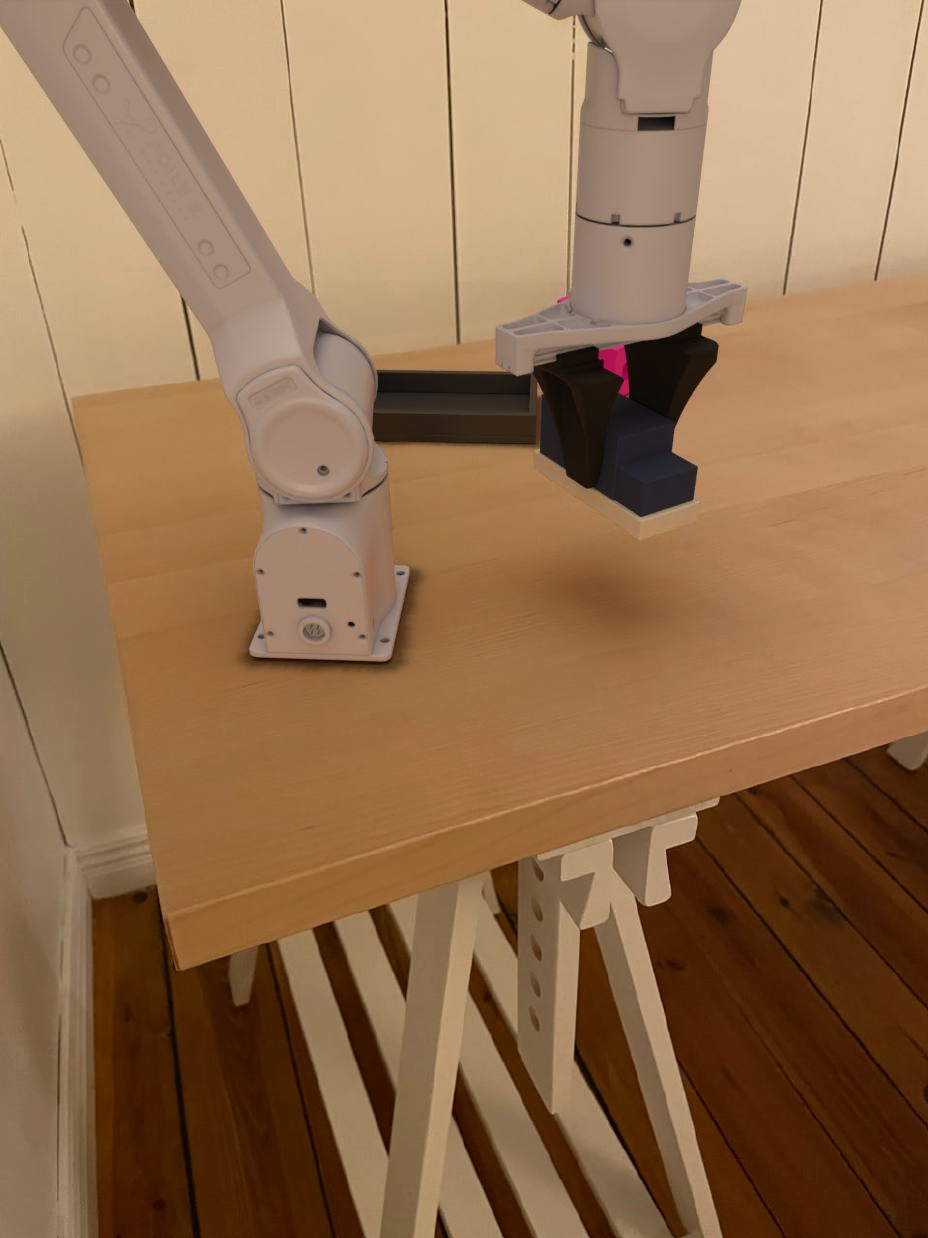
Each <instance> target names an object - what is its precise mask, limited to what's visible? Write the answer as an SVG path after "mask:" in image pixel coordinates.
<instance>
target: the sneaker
mask: <svg viewBox="0 0 928 1238" xmlns="http://www.w3.org/2000/svg"><path fill="white" fill-rule="evenodd" d="M540 404H541V405H540V434H539V440H540V441H539V448H537V449H534V450H533V460H532V461H533V462H532V464H533V465H532V468H533V469H534V470H535V471H537V473H539V474H541V475H543V476H544V477H545V478H547V479H548V480H550V481H551V482H553V483H554V484H556V485H557V486H558V487H560V488H561V489H563V490H564V491H566V492H567V493H569V494H570V495H571V496H573V497H574V498H576V499H577V500H579V501H580V502H582V503H583V504H585V505H586V506H588V507H589V508H590V509H592V510H594V511H595V512H596V513H598V514H599V515H601V516H602V517H603V518H605V519H607V520H608V521H610V522H611V523H613V524H614V525H615V526H617V527H618V528H619V529H621V530H623V531H624V532H626V533H627V534H628V535H630V536H631V537H633V538H635V540H637V541H643V540H646V539H649V538H651V537H655V536H658V535H661V534H664V533H667V532H669V531H673V530H676V529H678V528H681V527H685V526H687V525H690V524H694V523H696V522H698V520H699V514H700V513H699V512H700V507H701V501H699V500H697V498H695V493H696V485H697V478H698V471H699V466H698V465H696V464H694V463H693V462H691V461H689V460H687V459H686V458H683V457H682V456H680V455H678V454H676V453H675V452H673V448H674V447H673V446H674V439H675V438H674V436H675V429H676V427H675V422H673V421H671V420H669V419H667V418H666V417H664V416H662V415H660V414H658V413H656V412H654V411H652V410H650V409H648V408H647V407H645V406H643V405H641V404H639V403H637V402H635V401H633V400H631V399H629V396H626V395H622V394H620V393H618V395H617V397H616V400H615V403H614V405H613V408H612V412H611V415H610V419H609V423H608V427H607V431H606V437H605V446H604V456H603V464H602V469H601V473H600V477H599V481H598V484H597V486H596V487H593V488H590V489H586V488H584V487H583V486H581V485H580V484H578V483H577V482H575V481H574V480H572V479H571V478H569V477H568V476H566V470H565V464H564V459H563V454H562V449H561V445H560V440H559V436H558V432H557V429H556V426H555V422H554V419H553V416H552V413H551V411H550V408H549V406H548V403H547V401H546V398H545V396H544V394H543V393H542V394H541V403H540Z"/></svg>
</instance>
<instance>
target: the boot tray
mask: <svg viewBox="0 0 928 1238" xmlns="http://www.w3.org/2000/svg"><path fill="white" fill-rule="evenodd" d="M376 371H377V376H378V388H377V395H376V399H375V402H374V407H373V423H372V432H373V436H374V441H375V442H377V441H380V442H424V443H425V442H429V443H430V442H431V443H432V442H433V443H435V442H438V443H440V442H441V443H479V444H482V443H485V444H486V443H487V444H532V445H533V444H537V443H536V442H537V416H538V415H537V413H538V412H537V410H538V382H537V380H536V378H535V376H534V375H533V373H529V374H525V375H521V376H516V375H514V374H512V373H511V372H508V371H505V370H504V371H502V370H501V371H500V370H499V371H497V370H496V371H494V370H493V371H492V370H489V371H488V370H431V369H429V370H426V369H425V370H423V369H420V370H419V369H417V370H416V369H412V370H411V369H376Z"/></svg>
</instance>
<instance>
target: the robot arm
mask: <svg viewBox="0 0 928 1238" xmlns="http://www.w3.org/2000/svg"><path fill="white" fill-rule="evenodd" d="M521 1H522V2H523V3H525V4H527V5H529V6H530V7H532V8H534V9H536V10H538V11H540V12H541V13H543V14H545V15H547V16H548V17H550V18H552V19H553V20H556V21H562V20H566V19H568V18H571V17H574V16H576V17H577V20H578V23H579V24H580V27H581V29H582V30H583V33H584V34H585V35H586V37H587V38H588V39H589V41H588V42H587V45H586V46H587V47H586V64H585V65H586V68H585V87H584V98H583V101H582V103H581V107H580V114H579V115H580V116H579V132H578V150H577V151H578V154H577V174H576V192H575V193H576V194H575V213H574V227H573V229H574V230H573V247H572V250H573V251H572V270H571V287H570V288H569V289H568V290H567V296H568V299H567V300H564V301H562V302H560V303H557V302H556V303H555V304H553V305H551V306H548V307H546V308H543V309H542V310H538V311H536V312H534V313H532V314H530V315H527V316H524V317H522V318H520V319H517V320H513V321H510V322H507V323H503V324H502V323H501V324H499V325H495V340H494V341H495V351H494V352H495V357H494V361H495V362H494V363H495V365H497V366H498V367H500V368H501V369H503V370H504V371H505V372H511V373H512V374H514V375H516V376H521V375H525V374H529V373H533V375H534V376H535V378H536V380H537V382H538V383H537V385H538V387H539V388H540V390H541V392H542V394H544V396H545V398H546V401H547V403H548V406H549V408H550V411H551V413H552V416H553V419H554V422H555V426H556V429H557V432H558V436H559V440H560V445H561V449H562V454H563V459H564V464H565V470H566V476H568V477H569V478H571V479H572V480H574V481H575V482H577V483H578V484H580V485H581V486H583V487H584V488H586V489H590V488H593V487H596V486H597V484H598V481H599V477H600V473H601V469H602V464H603V456H604V446H605V437H606V431H607V427H608V423H609V419H610V415H611V412H612V408H613V405H614V403H615V400H616V397H617V395H618V393H619V390H620V388H621V386H622V384H623V382H624V379H623V378H622V377H621V376H619V375H617V374H615V373H613V372H611V371H609V370H607V369H605V368H604V360H603V359H601V360H599V359H598V358H599V351H601V350H605V349H609V348H614V347H618V346H622V345H624V349H625V355H626V362H627V370H628V382H629V393H628V398H629V399H631V400H633V401H635V402H637V403H639V404H641V405H643V406H645V407H647V408H648V409H650V410H652V411H654V412H656V413H658V414H660V415H662V416H664V417H666V418H667V419H669V420H671V421H673V422H675V428H676V427H677V424H678V423H679V420H680V418H681V416H682V413H683V411H684V410H685V408H686V406H687V404H688V402H689V400H690V399H691V397H692V396H693V394H694V393H695V391H696V390H697V387H698V386H699V385H700V383H701V382H702V381H703V379H704V378H705V377H706V376H707V374H708V373H709V372H710V370H711V369H712V368H713V367H714V366H715V364H717V362H718V357H719V356H718V355H719V349H720V348H719V347H720V345H719V343H718V342H717V341H716V340H714V339H711V338H709V337H706V336H704V335H702V334H703V327H707V326H712V325H715V324H721V325H723V326H724V325H725V326H734V325H735V326H736V325H738V324H742V323H743V321H744V314H745V307H746V301H747V300H746V299H747V294H748V289H749V288H748V287H747V286H745V285H743V284H740V283H737V282H734V281H732V280H729V279H726V278H722V277H721V278H717V279H709V280H704V281H703V280H702V281H692V282H689V279H690V271H691V262H692V261H691V260H692V253H693V245H694V237H695V229H696V228H695V227H696V219H697V212H698V205H699V196H700V187H701V180H702V179H701V177H702V171H703V170H702V169H703V161H704V154H705V153H704V152H705V144H706V143H705V142H706V135H707V128H708V119H709V103H708V100H709V95H710V94H709V92H710V86H711V75H712V66H713V59H714V52H715V50H716V49H717V47H718V46H719V45H720V44H721V43H722V41H723V40H725V37H727V35H728V33H729V31H730V29H731V28H732V26H733V24H734V22H735V20H736V17H737V15H738V12H739V10H740V7H741V3H742V0H521ZM0 29H1V30H2V31H3V32H4V34H5V36H6V37H7V38H8V40H9V42H10V43H11V45H12V46H13V48H14V49H15V51H16V52H17V54H18V55H19V57H20V58H21V59H22V61H23V63H24V64H25V65H26V67H27V68H28V70H29V71H30V73H31V74H32V76H33V77H34V79H35V80H36V82H37V83H38V85H39V87H40V88H41V89H42V91H43V92H44V94H45V95H46V96H47V98H48V100H49V101H50V102H51V105H53V107H54V109H55V110H56V112H57V113H58V115H59V116H60V118H61V119H62V120H63V122H64V123H65V125H66V126H67V128H68V129H69V131H70V133H71V134H72V136H73V137H74V138H75V140H76V141H77V143H78V144H79V146H80V147H81V149H82V150H83V151H84V153H85V155H86V156H87V158H88V159H89V161H90V162H91V163H92V165H93V167H94V168H95V170H96V171H97V173H98V174H99V175H100V177H101V178H102V180H103V182H104V183H105V184H106V186H107V188H108V189H109V190H110V192H111V194H112V195H113V196H114V199H116V201H117V203H118V204H119V205H120V207H121V208H122V210H123V211H124V213H125V215H126V216H127V217H128V218H129V221H130V222H131V223H132V225H133V226H134V228H135V229H136V231H137V232H138V233H139V235H140V236H141V238H142V239H143V241H144V242H145V244H146V245H147V247H148V249H149V250H150V251H151V253H152V254H153V256H154V257H155V259H156V260H157V262H158V263H159V265H160V266H161V268H162V269H163V270H164V272H165V274H166V275H167V277H168V279H169V280H170V281H171V283H172V284H173V285H174V287H175V289H176V290H177V291H178V293H179V294H180V296H181V297H182V299H183V301H184V302H185V303H186V305H187V306H188V308H189V309H190V311H191V312H192V313H193V315H194V317H195V318H196V320H197V321H198V323H199V324H200V327H202V329H203V330H204V332H205V333H206V335H207V336H208V339H209V341H210V345H211V347H212V351H213V357H214V361H215V365H216V368H217V373H218V376H219V380H220V385H221V389H222V391H223V394H224V397H225V399H226V400H227V401H228V403H229V404H230V406H231V407H232V409H233V410H234V412H235V413H236V415H237V417H238V419H239V421H240V424H241V426H242V430H243V435H244V444H245V445H244V446H245V451H246V455H247V459H248V462H249V463H250V465H251V467H252V470H253V471H254V474H255V480H256V487H257V494H258V500H259V501H258V502H259V507H260V514H261V520H262V527H261V532H260V535H259V538H258V542H257V544H256V547H255V550H254V553H253V557H252V571H253V578H254V584H255V590H256V596H257V602H258V609H259V613H260V621H259V624H258V626H257V628H256V630H255V632H254V635H253V638H252V640H251V642H250V645H249V648H248V649H249V654H250V656H251V657H254V658H269V659H294V660H295V659H296V660H298V659H299V660H325V661H326V660H329V661H355V662H357V661H358V662H387V661H389V660H390V659H392V657H393V653H394V647H395V643H396V639H397V634H398V630H399V625H400V620H401V616H402V611H403V607H404V603H405V599H406V594H407V589H408V585H409V580H410V576H411V571H410V569H411V568H410V567H409V566H407V565H404V564H395V553H394V551H395V549H394V537H393V535H394V534H393V522H392V521H393V519H392V507H391V505H392V504H391V491H390V489H391V488H390V475H389V460H388V456H387V454H386V453H385V452H384V450H383V449H382V448H381V447H380V446H379V445H378V444H377V442H376V441H374V436H373V432H372V423H373V407H374V402H375V399H376V395H377V388H378V376H377V371H376V370H377V368H376V365H375V362H374V359H373V358H372V356H371V354H370V353H369V351H368V350H367V349H366V347H365V346H364V344H363V343H362V342H360V341H359V340H358V339H357V338H356V337H354V336H353V335H351V334H350V333H348V332H347V331H345V330H343V329H341V328H340V327H339V326H338V325H337V324H336V323H334V321H333V320H332V319H331V318H330V317H329V315H328V314H327V313H326V310H325V309H324V308H323V306H322V304H321V303H320V300H319V298H317V296H315V294H313V293H312V291H310V290H309V289H307V288H306V287H305V286H304V285H302V283H300V282H299V281H298V280H297V279H296V278H294V277H293V275H292V273H291V272H290V270H289V269H288V267H287V266H286V264H285V262H284V260H283V259H282V257H281V255H280V253H279V252H278V251H277V248H276V246H275V245H274V243H273V242H272V240H271V239H270V237H269V236H268V234H267V232H266V230H265V229H264V227H263V225H262V223H261V222H260V221H259V219H258V217H257V216H256V215H257V214H255V212H254V210H253V209H252V207H251V205H250V203H249V202H248V201H247V198H246V197H245V195H244V194H243V192H242V190H241V189H240V187H239V185H238V183H237V182H236V180H235V179H234V177H233V175H232V174H231V172H230V170H229V168H228V166H227V165H226V164H225V162H224V159H222V157H221V155H220V153H219V152H218V150H217V148H216V147H215V145H214V144H213V142H212V140H211V138H210V136H209V135H208V133H207V132H206V130H205V128H204V126H203V125H202V123H201V121H200V120H199V118H198V117H197V114H196V113H195V111H194V110H193V108H192V107H191V105H190V103H189V102H188V100H187V98H186V97H185V95H184V93H183V91H182V90H181V88H180V87H179V85H178V82H176V80H175V78H174V77H173V75H172V72H170V70H169V68H168V66H167V65H166V62H165V61H164V60H163V58H162V56H161V54H160V53H159V51H158V50H157V48H156V46H155V44H154V43H153V41H152V39H151V38H150V36H149V34H148V32H146V30H145V28H144V26H143V24H142V23H141V21H140V20H139V18H138V16H137V15H136V12H135V11H134V9H133V8H132V6H131V5H130V3H129V1H128V0H0Z"/></svg>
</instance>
